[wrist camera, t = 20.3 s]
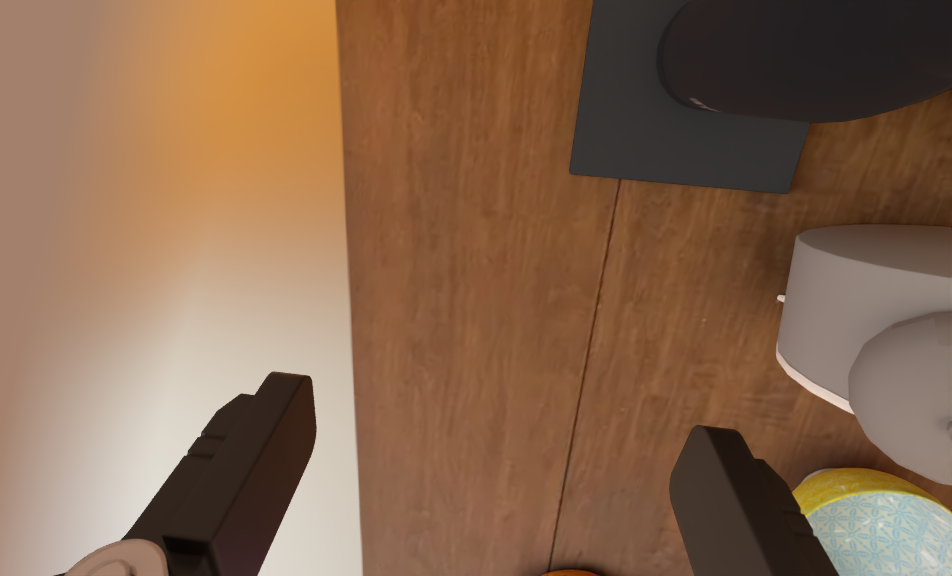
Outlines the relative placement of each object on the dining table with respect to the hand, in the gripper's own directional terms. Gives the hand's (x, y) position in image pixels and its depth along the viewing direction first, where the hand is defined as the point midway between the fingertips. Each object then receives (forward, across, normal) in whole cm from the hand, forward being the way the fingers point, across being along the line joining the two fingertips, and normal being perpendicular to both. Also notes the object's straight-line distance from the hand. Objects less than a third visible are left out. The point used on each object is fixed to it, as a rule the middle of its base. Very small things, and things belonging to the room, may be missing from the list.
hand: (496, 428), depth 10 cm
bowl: (+21, -30, +24) cm, 44 cm away
